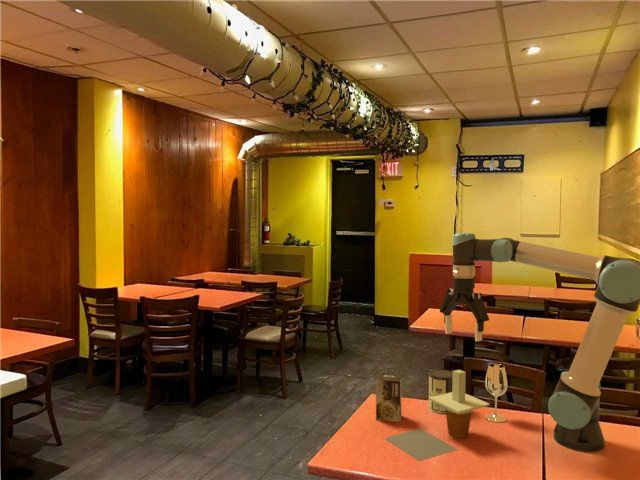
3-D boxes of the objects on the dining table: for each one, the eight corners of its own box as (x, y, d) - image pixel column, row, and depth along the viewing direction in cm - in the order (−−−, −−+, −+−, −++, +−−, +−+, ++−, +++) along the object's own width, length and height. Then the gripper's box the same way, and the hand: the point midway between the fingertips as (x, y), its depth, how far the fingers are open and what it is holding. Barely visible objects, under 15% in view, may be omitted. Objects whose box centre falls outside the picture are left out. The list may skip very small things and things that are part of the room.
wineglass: (482, 413, 191) (483, 362, 190) (504, 414, 190) (505, 363, 189) (486, 422, 183) (487, 368, 182) (508, 423, 182) (510, 369, 181)
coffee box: (401, 418, 186) (402, 375, 186) (400, 425, 180) (400, 381, 179) (377, 415, 189) (377, 373, 188) (375, 422, 182) (375, 379, 182)
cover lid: (489, 405, 167) (489, 374, 166) (458, 413, 160) (458, 380, 160) (458, 392, 179) (459, 363, 179) (428, 399, 172) (429, 368, 172)
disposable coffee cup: (473, 444, 165) (474, 409, 164) (444, 442, 166) (444, 406, 166) (471, 432, 174) (471, 398, 173) (443, 430, 176) (443, 396, 175)
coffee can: (451, 403, 201) (451, 369, 200) (458, 413, 191) (458, 377, 190) (425, 403, 201) (426, 369, 200) (431, 413, 191) (431, 377, 190)
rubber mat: (457, 452, 159) (457, 449, 159) (418, 464, 152) (419, 461, 151) (420, 431, 175) (420, 428, 175) (383, 441, 167) (383, 438, 167)
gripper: (430, 274, 184) (429, 331, 185) (485, 281, 163) (484, 345, 164) (444, 273, 188) (444, 329, 189) (500, 279, 167) (499, 342, 168)
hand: (463, 337), depth 176 cm, fingers open, 13 cm apart
